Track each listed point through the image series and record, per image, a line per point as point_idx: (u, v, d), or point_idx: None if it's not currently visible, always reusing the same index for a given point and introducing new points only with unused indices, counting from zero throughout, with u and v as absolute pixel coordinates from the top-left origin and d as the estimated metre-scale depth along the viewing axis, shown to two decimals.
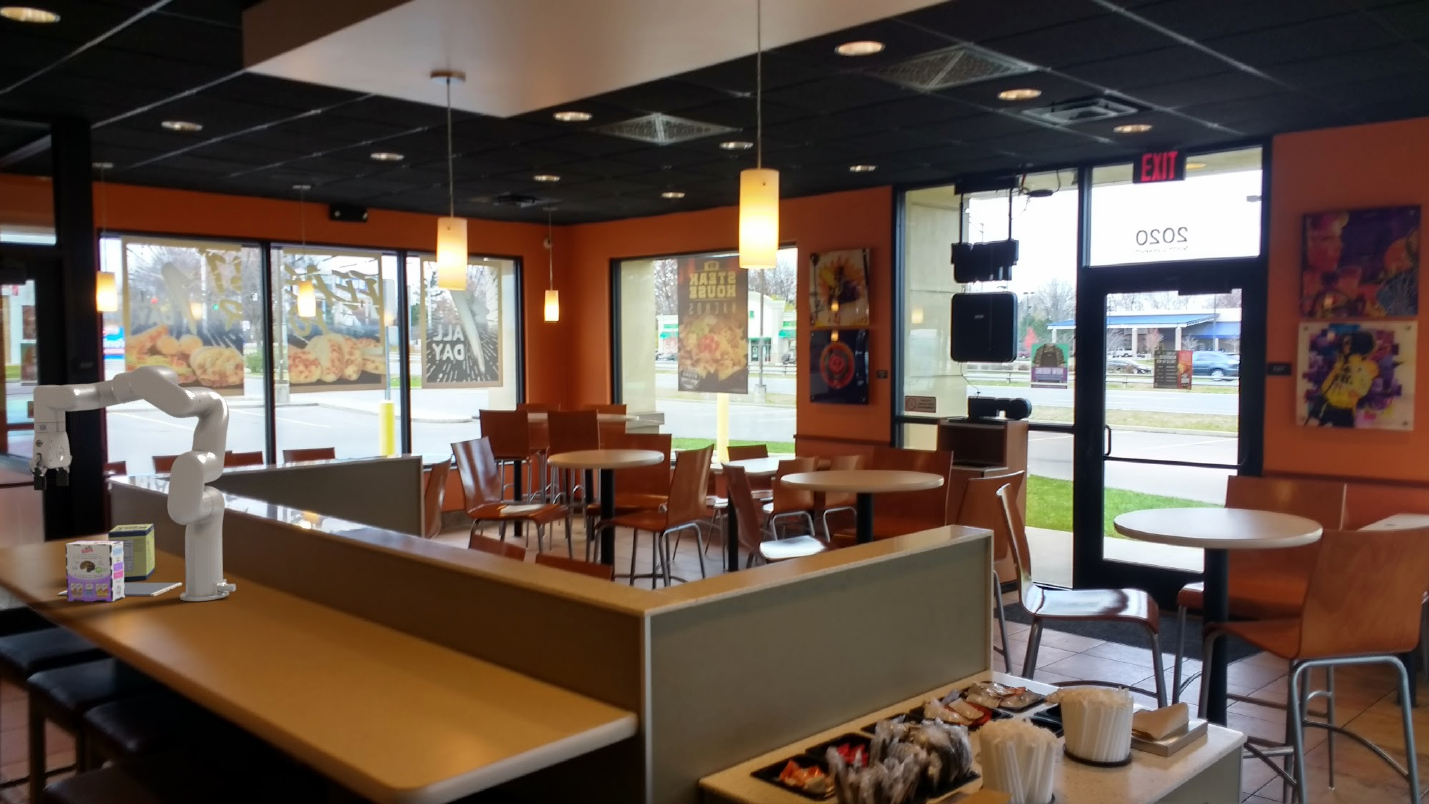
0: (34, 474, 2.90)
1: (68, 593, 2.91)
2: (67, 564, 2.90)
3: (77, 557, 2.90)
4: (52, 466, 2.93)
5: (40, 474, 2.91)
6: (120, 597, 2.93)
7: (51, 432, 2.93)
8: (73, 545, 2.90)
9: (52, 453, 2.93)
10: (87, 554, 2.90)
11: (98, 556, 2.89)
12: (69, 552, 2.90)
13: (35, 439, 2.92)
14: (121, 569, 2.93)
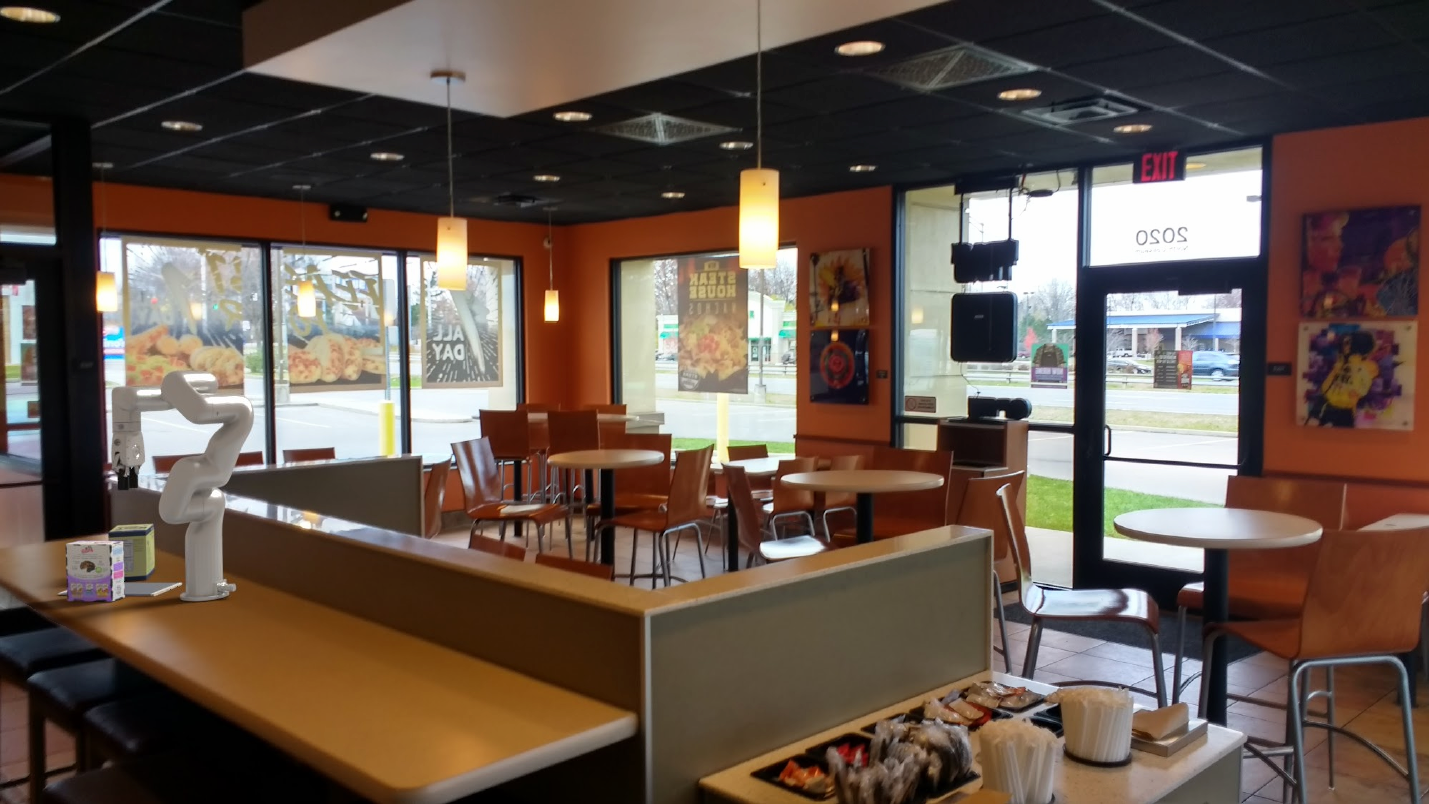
0: (118, 475, 3.06)
1: (68, 593, 2.91)
2: (67, 564, 2.91)
3: (77, 557, 2.90)
4: (129, 464, 3.06)
5: (124, 476, 3.06)
6: (120, 597, 2.93)
7: (128, 431, 3.06)
8: (73, 545, 2.90)
9: (129, 451, 3.06)
10: (87, 554, 2.90)
11: (98, 556, 2.89)
12: (69, 552, 2.90)
13: (113, 438, 3.05)
14: (121, 569, 2.93)
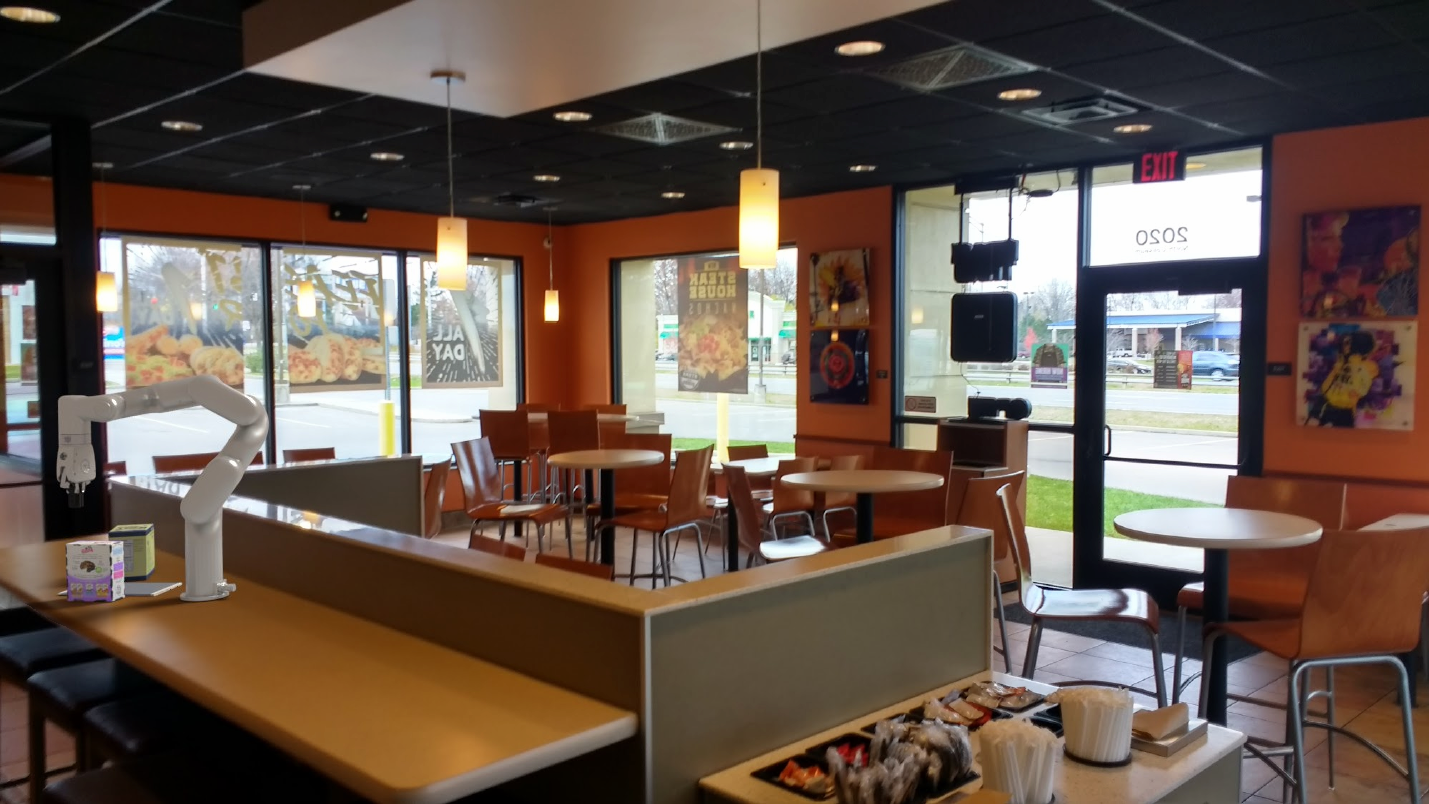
0: (69, 491, 2.82)
1: (68, 593, 2.91)
2: (67, 564, 2.91)
3: (77, 557, 2.90)
4: (76, 480, 2.81)
5: (75, 492, 2.83)
6: (120, 597, 2.93)
7: (76, 444, 2.81)
8: (73, 545, 2.90)
9: (76, 466, 2.80)
10: (87, 554, 2.90)
11: (98, 556, 2.89)
12: (69, 552, 2.90)
13: (59, 452, 2.79)
14: (121, 569, 2.93)
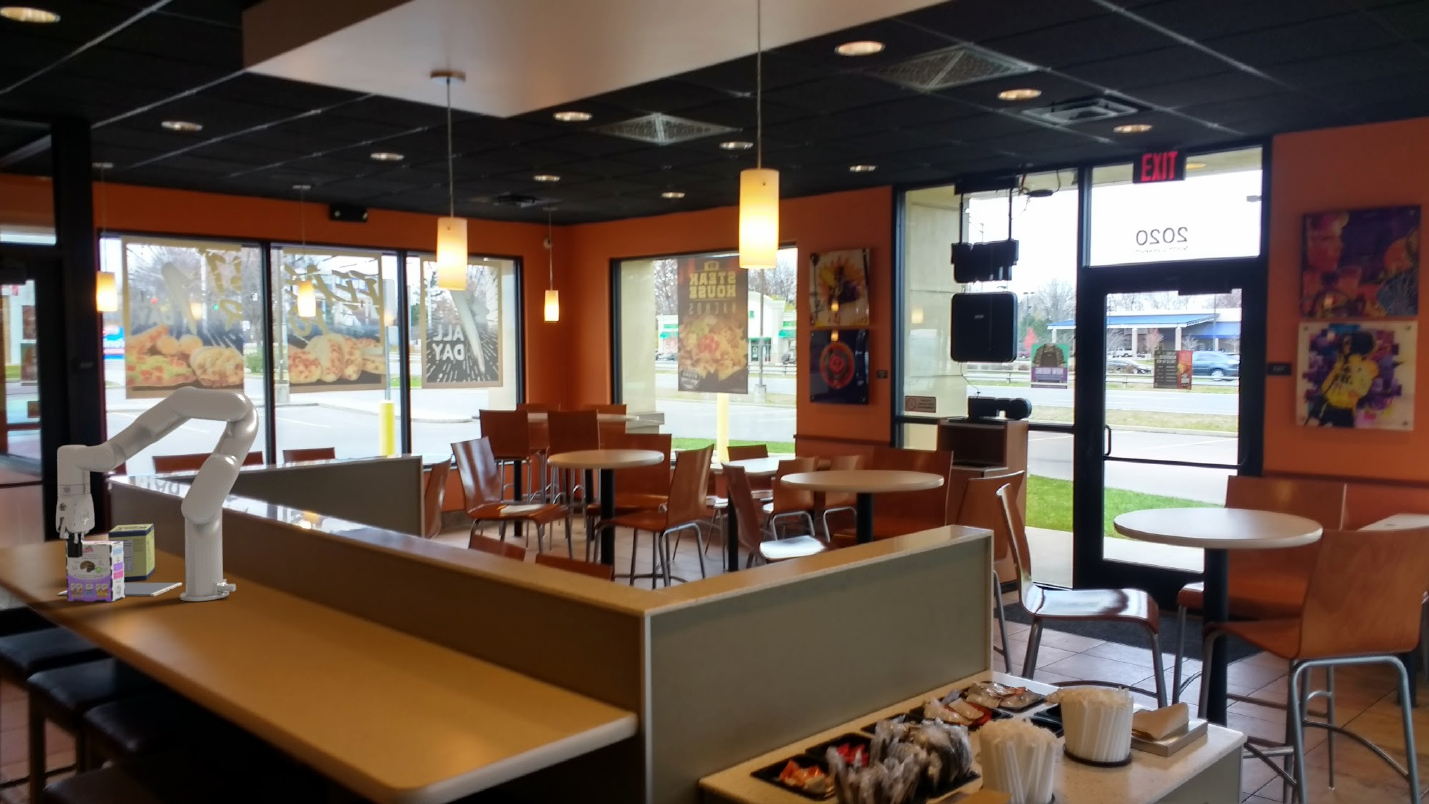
0: (68, 541, 2.82)
1: (68, 593, 2.91)
2: (67, 564, 2.91)
3: None
4: (76, 531, 2.80)
5: (74, 543, 2.82)
6: (120, 597, 2.93)
7: (75, 495, 2.80)
8: None
9: (76, 517, 2.80)
10: (87, 554, 2.90)
11: (98, 556, 2.89)
12: None
13: (59, 502, 2.79)
14: (121, 569, 2.93)
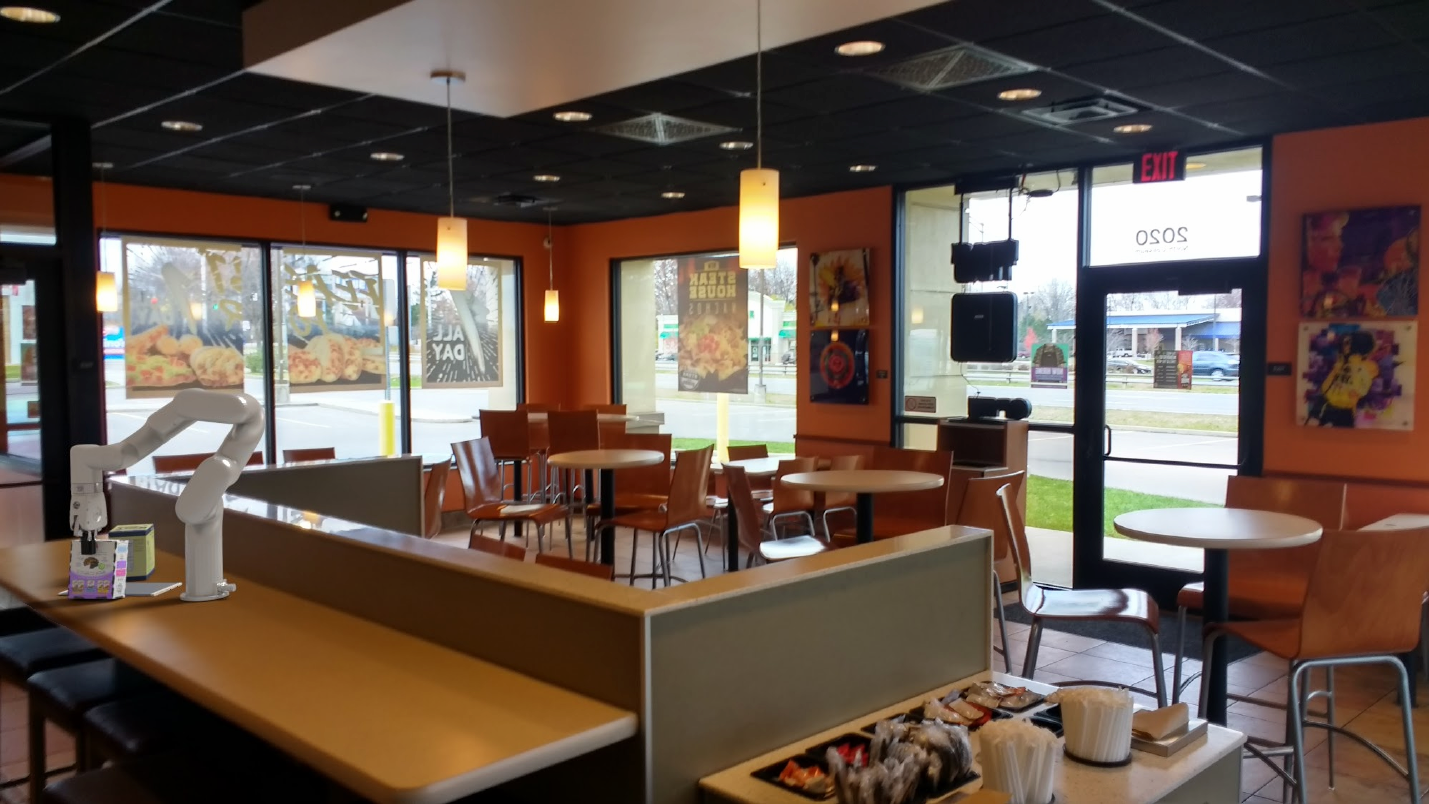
0: (81, 539, 2.87)
1: (69, 590, 2.91)
2: (71, 560, 2.92)
3: None
4: (89, 528, 2.86)
5: (88, 540, 2.88)
6: (120, 596, 2.93)
7: (89, 493, 2.86)
8: (79, 541, 2.92)
9: (89, 515, 2.86)
10: None
11: (102, 553, 2.91)
12: (74, 548, 2.92)
13: (72, 501, 2.85)
14: (124, 568, 2.95)
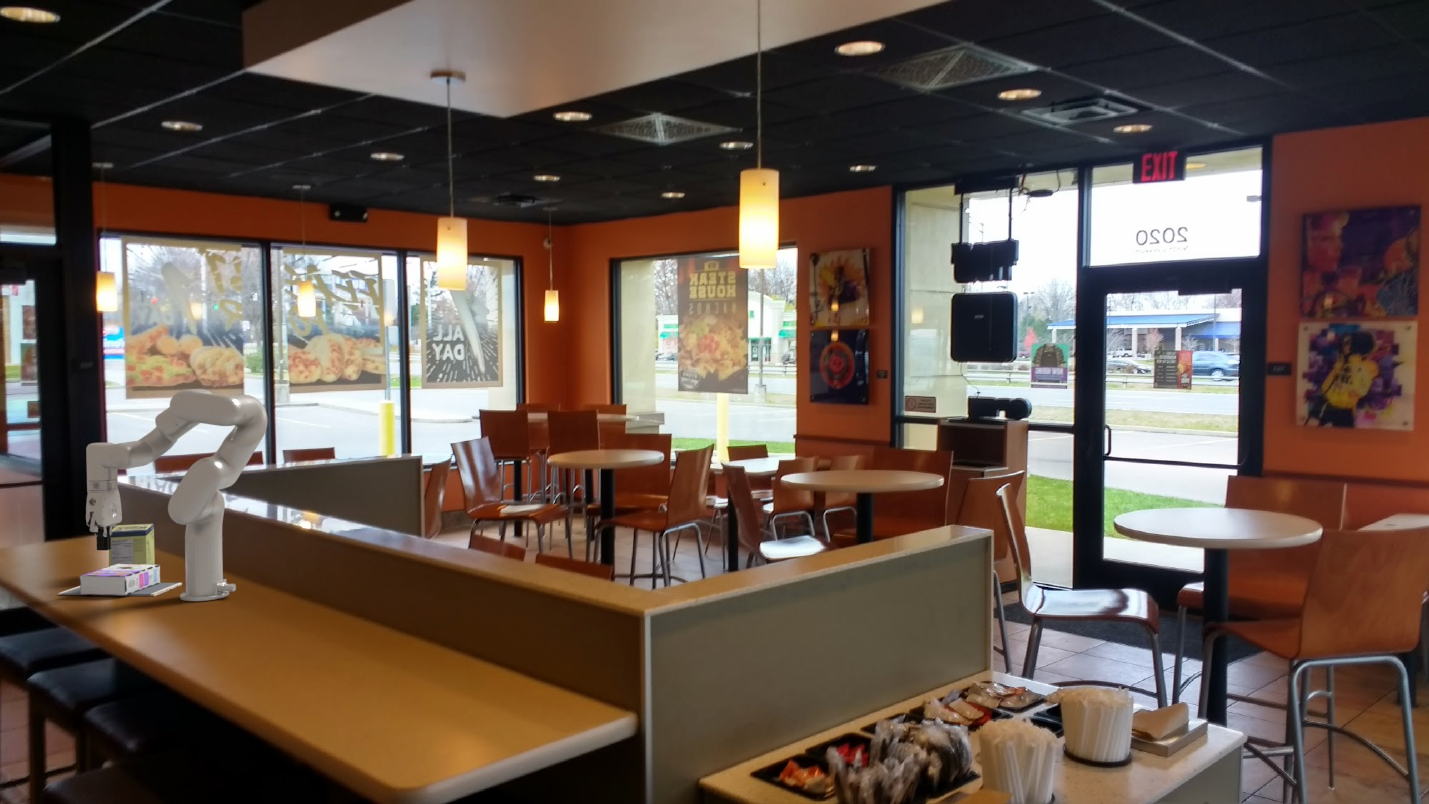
0: (97, 535, 2.94)
1: None
2: (106, 567, 3.06)
3: (121, 566, 3.08)
4: (105, 524, 2.93)
5: (103, 536, 2.95)
6: (126, 587, 2.96)
7: (104, 490, 2.93)
8: (124, 564, 3.12)
9: (105, 511, 2.93)
10: (132, 565, 3.09)
11: (141, 566, 3.08)
12: (116, 565, 3.10)
13: (88, 497, 2.92)
14: (144, 583, 3.04)
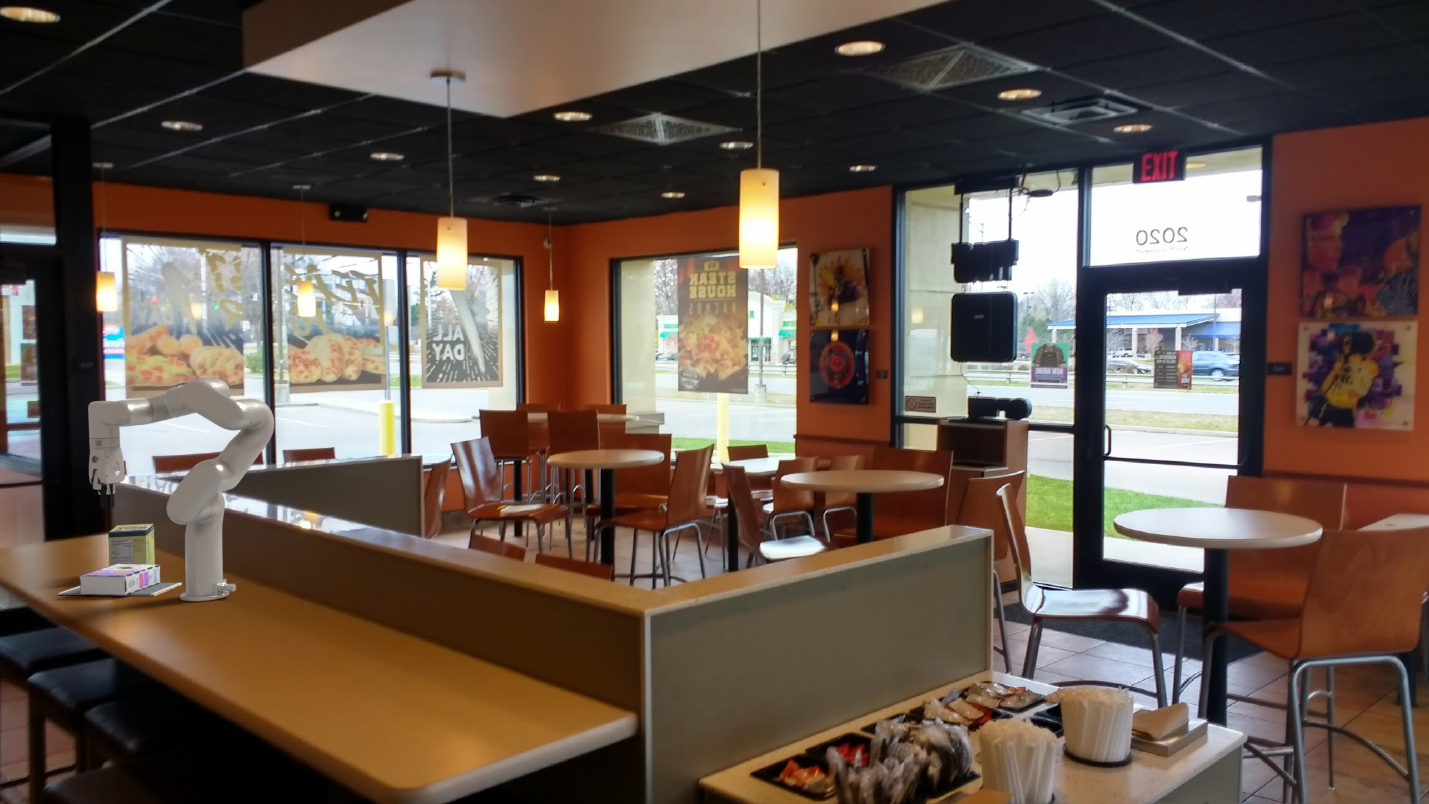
0: (100, 492, 2.95)
1: None
2: (106, 567, 3.06)
3: (121, 566, 3.08)
4: (108, 482, 2.94)
5: (107, 494, 2.96)
6: (126, 587, 2.96)
7: (107, 448, 2.94)
8: (124, 564, 3.12)
9: (107, 468, 2.94)
10: (132, 565, 3.09)
11: (141, 566, 3.08)
12: (116, 565, 3.10)
13: (91, 455, 2.93)
14: (144, 583, 3.04)
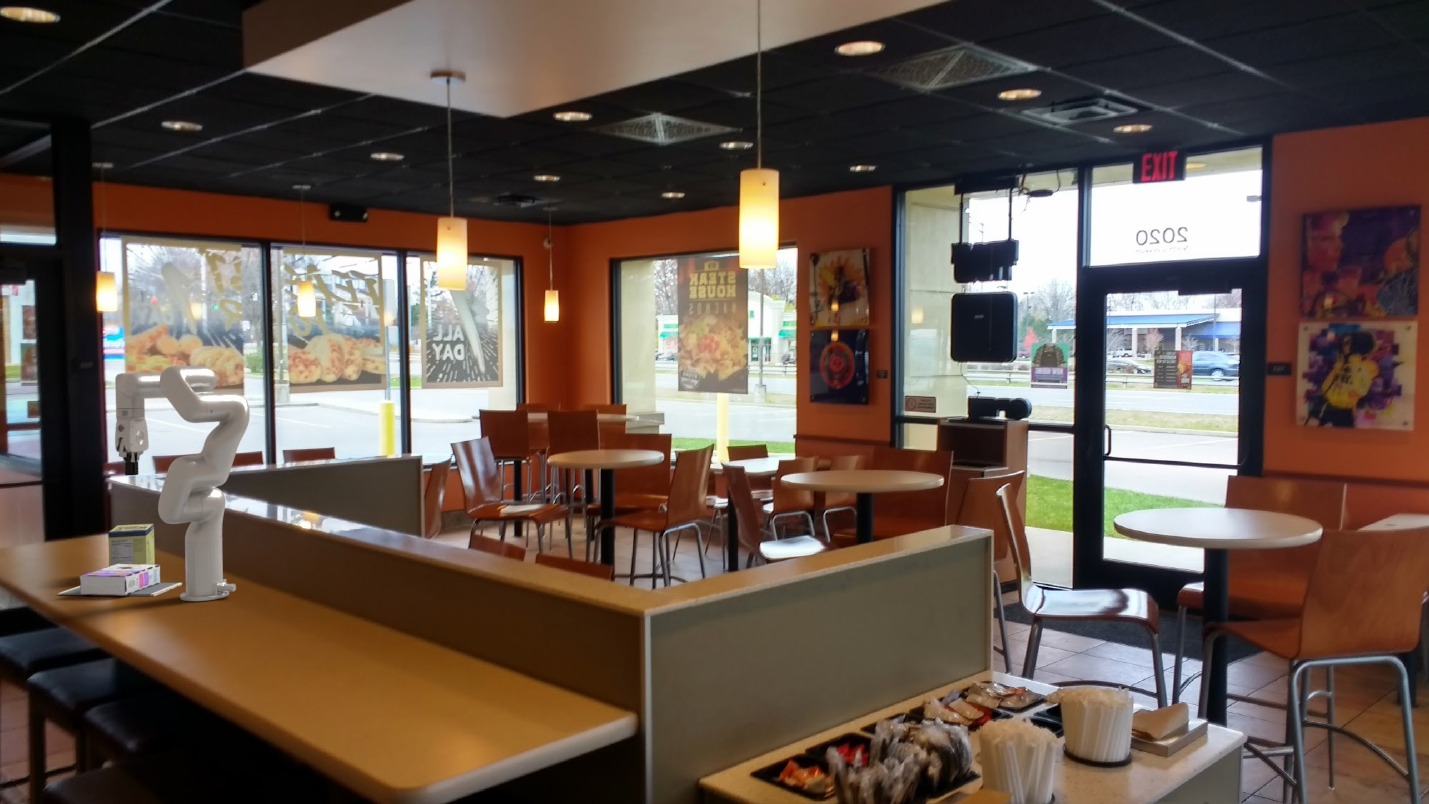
0: (125, 460, 3.10)
1: None
2: (106, 567, 3.06)
3: (121, 566, 3.08)
4: (133, 450, 3.08)
5: (131, 461, 3.10)
6: (126, 587, 2.96)
7: (132, 418, 3.08)
8: (124, 564, 3.12)
9: (133, 437, 3.08)
10: (132, 565, 3.09)
11: (141, 566, 3.08)
12: (116, 565, 3.10)
13: (117, 424, 3.07)
14: (144, 583, 3.04)
